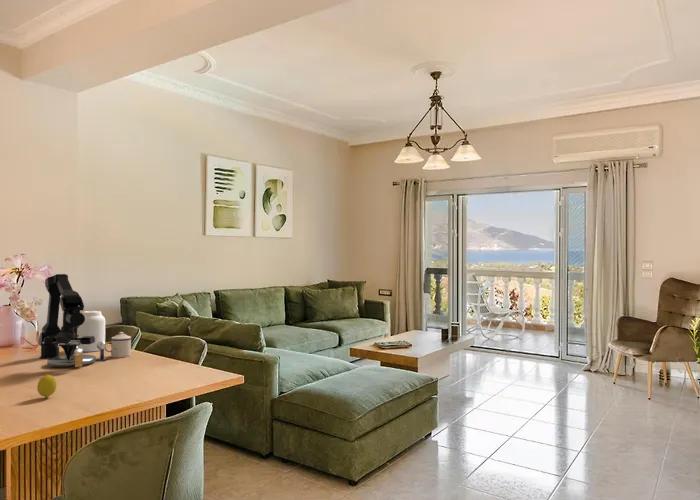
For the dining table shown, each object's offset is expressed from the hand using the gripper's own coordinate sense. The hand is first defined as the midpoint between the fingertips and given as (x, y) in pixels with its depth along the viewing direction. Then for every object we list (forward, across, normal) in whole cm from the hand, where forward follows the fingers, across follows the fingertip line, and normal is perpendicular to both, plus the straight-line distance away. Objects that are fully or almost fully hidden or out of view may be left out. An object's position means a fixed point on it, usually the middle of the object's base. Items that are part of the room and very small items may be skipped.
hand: (69, 360), depth 218 cm
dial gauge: (+4, +7, +18) cm, 20 cm away
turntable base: (+4, -3, +10) cm, 11 cm away
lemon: (+4, +12, -47) cm, 49 cm away
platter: (+3, -2, +9) cm, 10 cm away
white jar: (+4, -8, +46) cm, 47 cm away
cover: (+1, -2, +10) cm, 11 cm away
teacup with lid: (+4, +11, +27) cm, 30 cm away
